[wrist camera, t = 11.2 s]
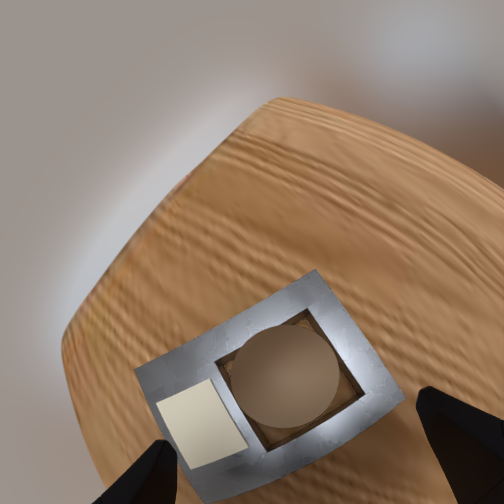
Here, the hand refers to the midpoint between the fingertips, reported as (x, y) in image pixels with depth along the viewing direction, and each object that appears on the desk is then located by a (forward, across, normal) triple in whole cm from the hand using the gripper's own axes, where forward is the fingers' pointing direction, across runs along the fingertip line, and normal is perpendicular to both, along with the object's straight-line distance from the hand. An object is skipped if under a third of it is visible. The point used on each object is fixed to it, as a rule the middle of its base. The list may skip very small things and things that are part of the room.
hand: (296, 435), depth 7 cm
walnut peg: (+10, 0, +7) cm, 12 cm away
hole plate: (+10, +2, +7) cm, 12 cm away
